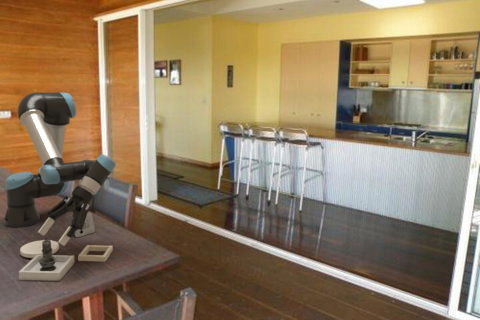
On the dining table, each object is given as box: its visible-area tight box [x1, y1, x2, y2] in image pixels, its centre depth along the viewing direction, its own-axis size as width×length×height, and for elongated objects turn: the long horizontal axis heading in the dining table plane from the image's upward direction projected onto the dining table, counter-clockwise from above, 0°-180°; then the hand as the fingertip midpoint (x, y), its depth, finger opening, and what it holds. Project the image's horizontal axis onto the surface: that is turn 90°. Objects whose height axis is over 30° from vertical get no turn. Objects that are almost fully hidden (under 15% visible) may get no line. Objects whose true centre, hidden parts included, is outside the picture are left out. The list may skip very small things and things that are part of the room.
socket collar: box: [77, 244, 114, 262], centre depth 164 cm, size 10×10×2 cm
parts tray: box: [18, 254, 75, 282], centre depth 150 cm, size 14×14×3 cm
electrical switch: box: [70, 212, 96, 238], centre depth 185 cm, size 9×5×9 cm, turn 141°
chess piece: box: [39, 237, 56, 271], centre depth 149 cm, size 6×6×12 cm
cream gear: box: [19, 239, 60, 259], centre depth 166 cm, size 14×14×2 cm
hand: (50, 239), depth 149 cm, fingers open, 13 cm apart
